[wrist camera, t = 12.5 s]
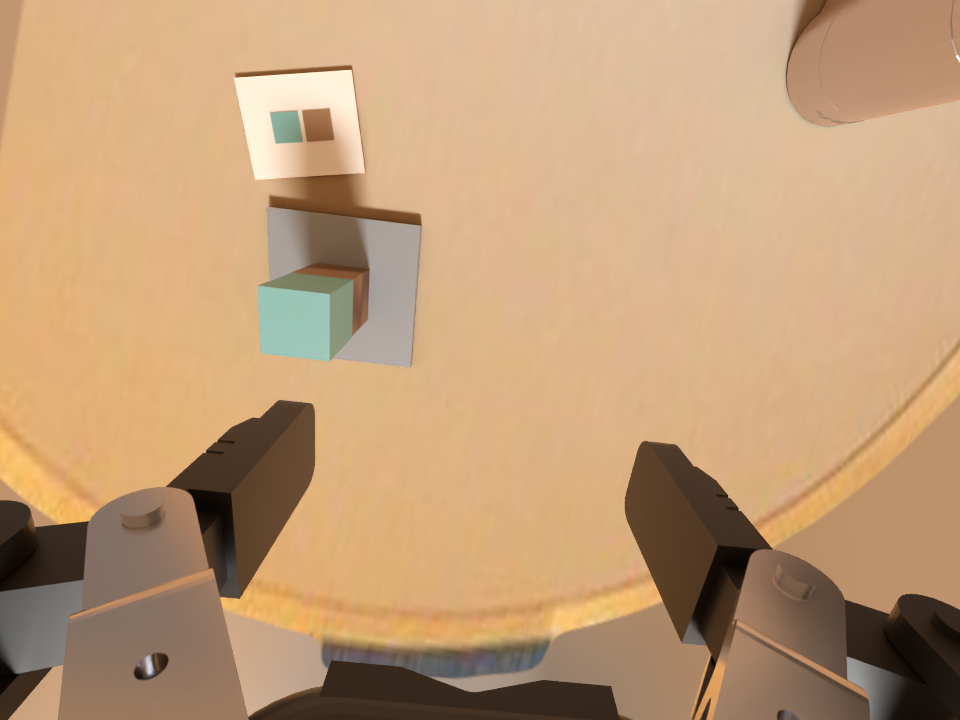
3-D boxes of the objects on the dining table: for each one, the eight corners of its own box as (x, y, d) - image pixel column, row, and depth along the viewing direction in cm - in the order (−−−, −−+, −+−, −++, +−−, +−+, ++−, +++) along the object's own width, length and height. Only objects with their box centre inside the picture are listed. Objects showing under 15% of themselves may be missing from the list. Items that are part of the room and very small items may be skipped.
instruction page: (235, 78, 38) (233, 77, 38) (352, 70, 38) (350, 69, 38) (256, 179, 41) (254, 179, 40) (365, 172, 40) (364, 172, 40)
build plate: (270, 206, 42) (266, 206, 41) (421, 225, 42) (420, 225, 41) (276, 349, 46) (272, 351, 45) (411, 364, 47) (410, 367, 46)
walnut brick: (316, 262, 42) (291, 272, 37) (369, 269, 43) (352, 279, 37) (316, 314, 44) (292, 330, 38) (367, 319, 44) (350, 337, 39)
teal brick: (292, 272, 37) (257, 285, 31) (353, 279, 37) (329, 294, 31) (293, 330, 38) (260, 353, 33) (352, 337, 39) (329, 361, 33)
